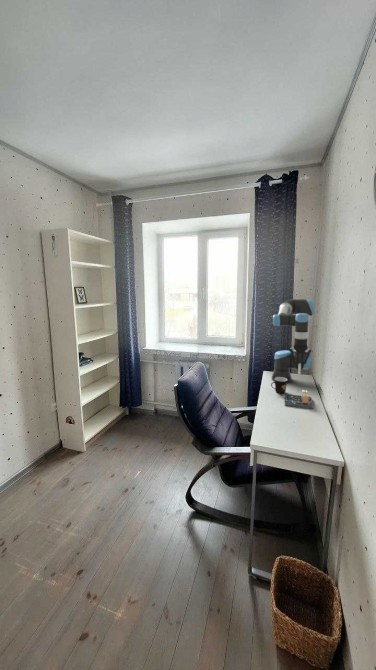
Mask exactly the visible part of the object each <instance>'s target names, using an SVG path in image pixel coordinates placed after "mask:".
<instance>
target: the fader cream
mask: <svg viewBox="0 0 376 670" xmlns="http://www.w3.org/2000/svg"><path fill="white" fill-rule="evenodd" d="M303 394H306V395H308V390H307V389H302V390H301V396H302V398H303Z"/></svg>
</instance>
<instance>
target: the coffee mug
mask: <svg viewBox="0 0 376 670" xmlns="http://www.w3.org/2000/svg"><path fill="white" fill-rule="evenodd" d="M273 384H274V387H273ZM270 386H271V387H272V389H274V390H275V393H276V394H278V395H286V389H287V386H288V383H287V379H286V378H284V377H276V378H275V381H273V382H271V384H270Z"/></svg>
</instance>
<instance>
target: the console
mask: <svg viewBox="0 0 376 670" xmlns="http://www.w3.org/2000/svg"><path fill="white" fill-rule="evenodd" d="M284 396H285V397H284V406H286V407H294V408H303V409H311V410H313V401H312V396H308V403H303V398H302V395H296V394H291V393H290V394H289V393H285V394H284Z"/></svg>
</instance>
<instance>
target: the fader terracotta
mask: <svg viewBox="0 0 376 670" xmlns="http://www.w3.org/2000/svg"><path fill="white" fill-rule="evenodd" d="M308 397H309V394H307V395H306V394H303V403H308Z"/></svg>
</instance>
